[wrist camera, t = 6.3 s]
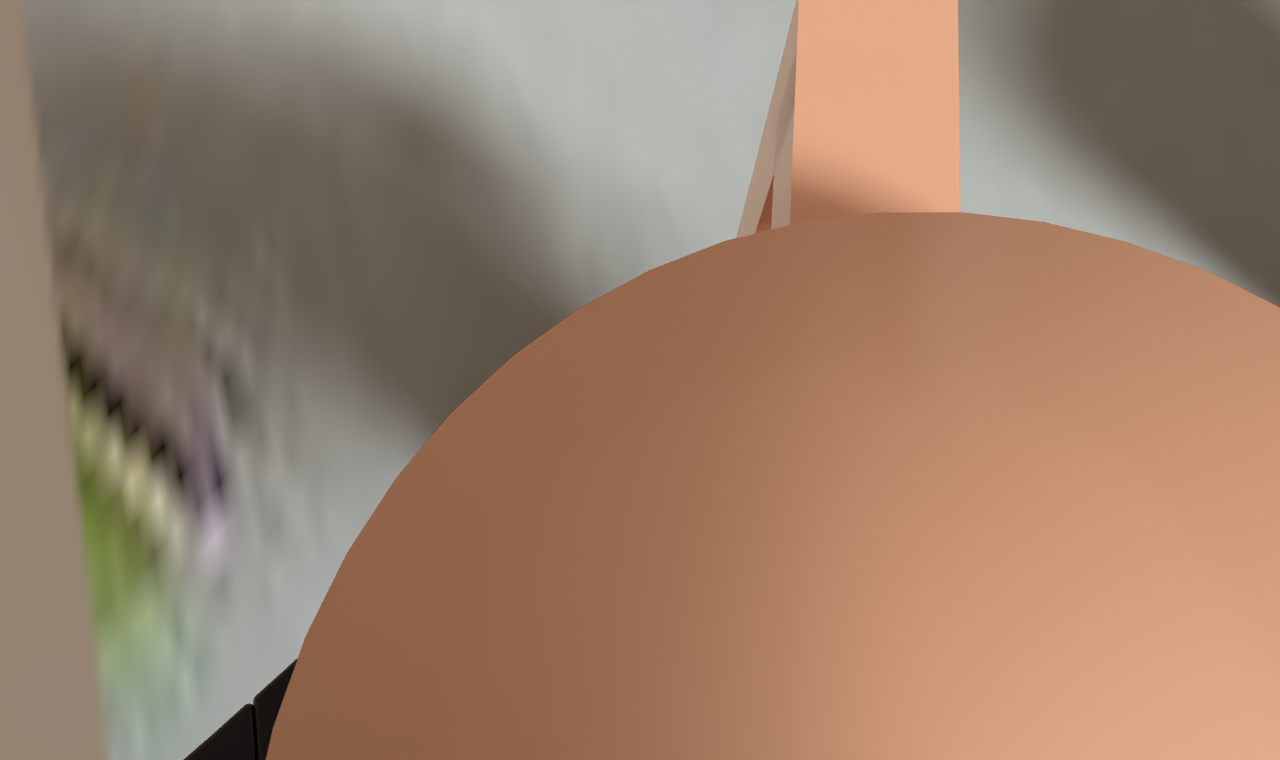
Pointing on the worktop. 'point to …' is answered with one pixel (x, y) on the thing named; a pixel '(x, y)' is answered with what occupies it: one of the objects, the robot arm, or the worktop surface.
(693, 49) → the worktop surface
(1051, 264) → the jug
